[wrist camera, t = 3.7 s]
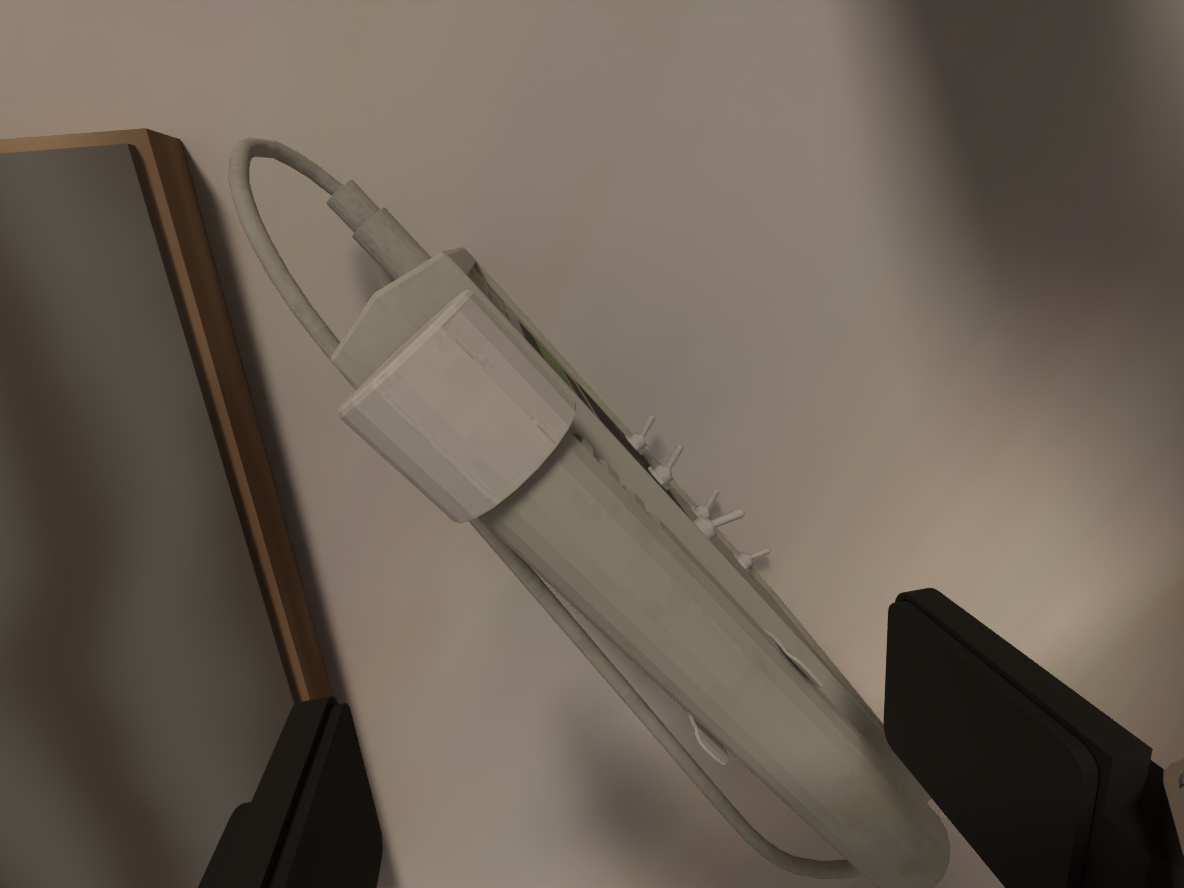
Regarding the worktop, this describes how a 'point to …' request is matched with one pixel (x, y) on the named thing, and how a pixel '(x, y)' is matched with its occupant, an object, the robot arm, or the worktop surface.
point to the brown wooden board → (130, 528)
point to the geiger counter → (605, 537)
